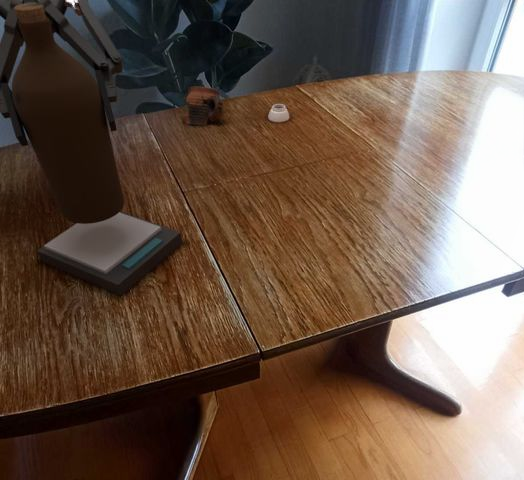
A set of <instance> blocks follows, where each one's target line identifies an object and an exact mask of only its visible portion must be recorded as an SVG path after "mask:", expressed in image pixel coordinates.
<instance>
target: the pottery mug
mask: <svg viewBox="0 0 524 480" xmlns="http://www.w3.org/2000/svg"><path fill="white" fill-rule="evenodd" d="M219 96H220V91H219V90H217V89H215V88H212V87H209V86H208V87H207V86H197V85H196V86H195V85H194V86H189V87H188V88H187V93H186V94H185V95H184V98H183V99H182V100H183V102H184V101H186V103H187V111H188V113H184V114H183V115H184V117H183V118H184V121H185V124H187V125H193V126H199V127H205V126H207V125H208V122H209V121H211V122H212V123H214V122H216V121H217V120H218V118H219V117H220V115H221V113H222V112H223V108H224V103H223V101H222V99H221V98H220V97H219ZM208 119H209V121H208Z"/></svg>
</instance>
